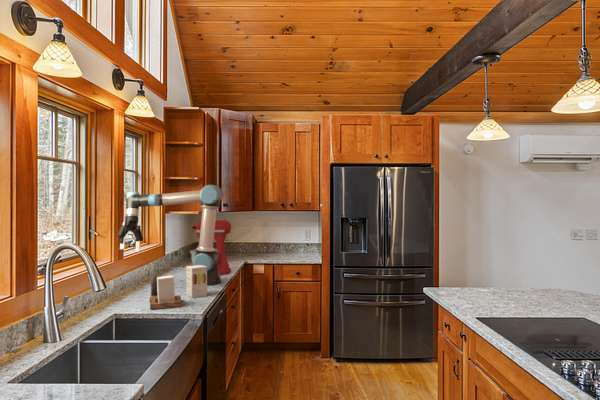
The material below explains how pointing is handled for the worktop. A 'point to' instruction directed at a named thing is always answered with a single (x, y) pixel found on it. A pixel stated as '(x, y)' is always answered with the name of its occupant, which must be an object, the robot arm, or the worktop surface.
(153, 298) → the brown wooden frame
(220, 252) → the stand mixer
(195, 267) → the supplement box
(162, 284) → the skincare box
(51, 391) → the worktop surface
